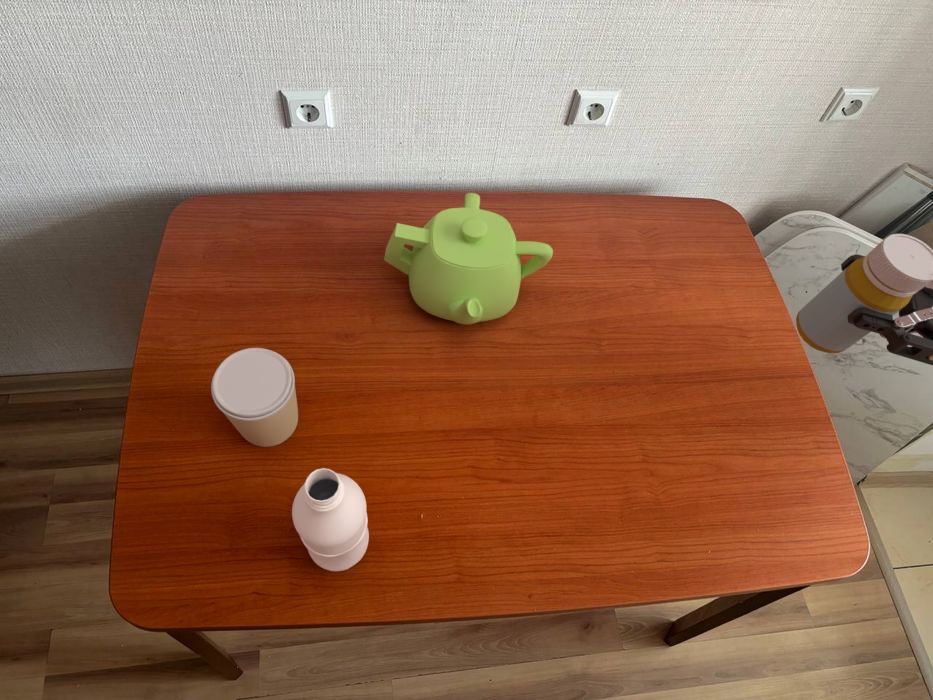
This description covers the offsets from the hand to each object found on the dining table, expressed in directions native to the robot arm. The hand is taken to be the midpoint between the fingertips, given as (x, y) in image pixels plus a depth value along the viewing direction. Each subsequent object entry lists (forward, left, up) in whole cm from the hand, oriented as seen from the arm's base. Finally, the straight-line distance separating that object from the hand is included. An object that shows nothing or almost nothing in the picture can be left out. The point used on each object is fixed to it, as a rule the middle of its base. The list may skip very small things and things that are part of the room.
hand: (849, 287), depth 67 cm
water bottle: (+3, +61, -27) cm, 67 cm away
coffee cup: (+22, +64, -27) cm, 73 cm away
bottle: (-1, -2, -9) cm, 9 cm away
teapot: (+31, +31, -27) cm, 51 cm away
